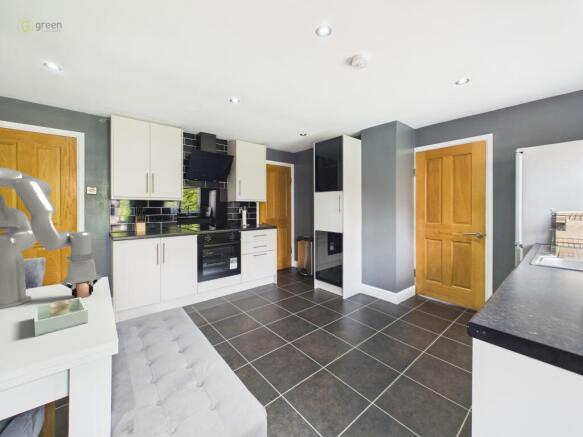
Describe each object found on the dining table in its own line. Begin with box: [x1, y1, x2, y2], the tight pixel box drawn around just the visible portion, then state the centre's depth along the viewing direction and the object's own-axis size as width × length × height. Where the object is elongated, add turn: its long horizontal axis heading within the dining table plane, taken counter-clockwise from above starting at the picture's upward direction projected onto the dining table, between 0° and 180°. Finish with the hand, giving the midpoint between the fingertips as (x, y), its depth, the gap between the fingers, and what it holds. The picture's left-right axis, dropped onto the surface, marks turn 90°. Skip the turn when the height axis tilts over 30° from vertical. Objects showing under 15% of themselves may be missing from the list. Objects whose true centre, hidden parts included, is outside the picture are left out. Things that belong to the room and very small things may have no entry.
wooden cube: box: [50, 299, 69, 317], centre depth 94 cm, size 5×5×5 cm
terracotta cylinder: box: [75, 281, 90, 299], centre depth 116 cm, size 5×5×7 cm
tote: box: [33, 297, 89, 338], centre depth 92 cm, size 18×14×5 cm
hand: (82, 295), depth 116 cm, fingers closed on terracotta cylinder, 4 cm apart
